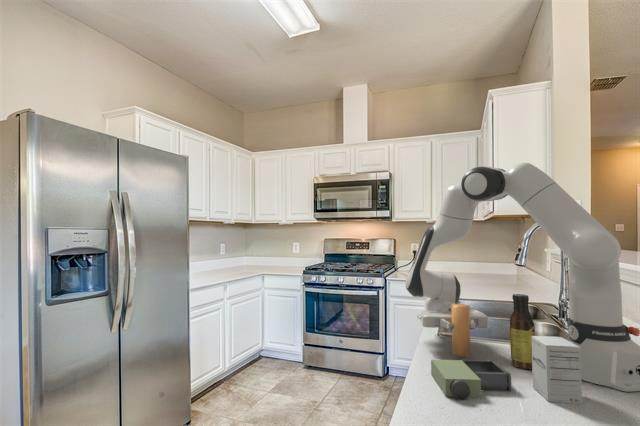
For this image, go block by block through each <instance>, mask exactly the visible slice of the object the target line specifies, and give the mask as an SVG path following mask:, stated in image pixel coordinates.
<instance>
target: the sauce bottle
mask: <svg viewBox="0 0 640 426" xmlns="http://www.w3.org/2000/svg"><path fill="white" fill-rule="evenodd" d="M529 297H530V296H529V295H527V294H521V293H513V294H512V301H513V303H512V304H513V312H512V313H511V315H510V316H509V342H510V343H509V345H510V347H509V348H510V359H511V363H512V365H513V366H514V367H516V368H519V369H525V370H532V336H536V330H535V328H536V327H535V323H534V320H533V317H532V314H531V312H530V309H529V299H530V298H529Z"/></svg>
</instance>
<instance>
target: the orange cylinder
mask: <svg viewBox="0 0 640 426" xmlns="http://www.w3.org/2000/svg"><path fill="white" fill-rule="evenodd" d="M451 306H452V323H453V329H452V330H451V343H452V345H451V349H452V350H451V351H452V352H451V353H453V355H456V356H461V357H468V356H470V355H471V329H470V310H469V306H470V305H468V304H465V303H457V304H452V305H451Z"/></svg>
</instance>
